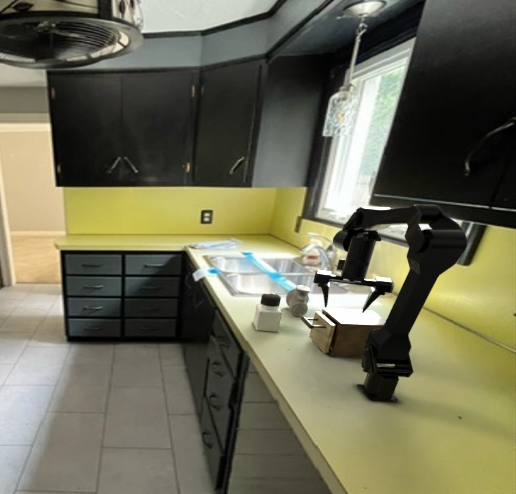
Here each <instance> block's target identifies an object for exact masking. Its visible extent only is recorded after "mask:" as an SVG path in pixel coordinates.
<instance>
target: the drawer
mask: <svg viewBox="0 0 516 494" xmlns="http://www.w3.org/2000/svg"><path fill="white" fill-rule="evenodd" d="M300 321H302V323H304V324H305V326H306V327H307V328H308V329H309V330H310V331H309V335H308V337H309V338H310V339H311V340H312V341H313V342H314V344H315V345H316V346H317V347H318V348H319V349H320V350H321V351H322V353H328V350H329V348H330V349H331V351H332V348H333V345H334V341H335V338H336V334H337V331H338V328H339V324H338V323H336V322H335V321H334V320H333V319H332V318H331V317H329V316H328V315H327V314H326V313H325V314H324V315H323V314H322V311H319V310H318V311H315V312H314V316H313V317H306V316H305V315H303V316H300ZM311 321H312V322H311ZM328 354H329V353H328Z"/></svg>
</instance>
